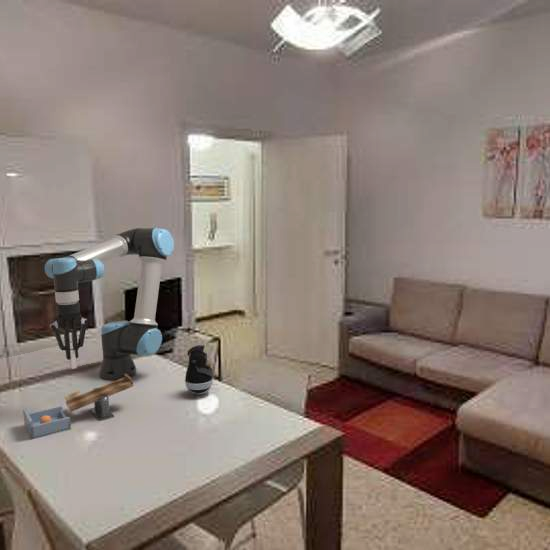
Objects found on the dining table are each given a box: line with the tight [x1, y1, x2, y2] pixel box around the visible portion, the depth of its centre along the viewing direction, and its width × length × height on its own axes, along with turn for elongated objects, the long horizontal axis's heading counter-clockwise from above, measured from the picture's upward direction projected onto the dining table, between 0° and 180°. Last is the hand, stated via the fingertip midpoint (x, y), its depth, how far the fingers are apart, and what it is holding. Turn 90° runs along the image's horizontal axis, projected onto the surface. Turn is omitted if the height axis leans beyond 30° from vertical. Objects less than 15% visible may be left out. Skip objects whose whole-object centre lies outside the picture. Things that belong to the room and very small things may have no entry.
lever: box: [64, 374, 134, 413], centre depth 178 cm, size 22×13×3 cm, turn 126°
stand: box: [89, 387, 115, 422], centre depth 175 cm, size 5×11×8 cm, turn 36°
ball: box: [40, 415, 51, 424], centre depth 165 cm, size 4×4×4 cm
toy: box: [184, 344, 214, 395], centre depth 191 cm, size 11×11×20 cm
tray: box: [22, 405, 72, 440], centre depth 165 cm, size 12×12×6 cm
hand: (73, 367), depth 176 cm, fingers closed
